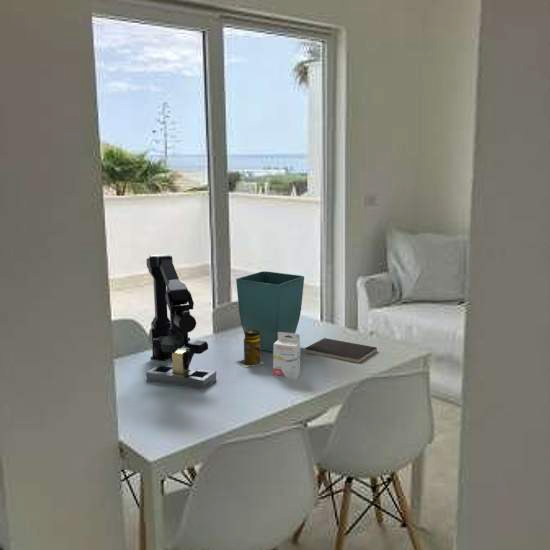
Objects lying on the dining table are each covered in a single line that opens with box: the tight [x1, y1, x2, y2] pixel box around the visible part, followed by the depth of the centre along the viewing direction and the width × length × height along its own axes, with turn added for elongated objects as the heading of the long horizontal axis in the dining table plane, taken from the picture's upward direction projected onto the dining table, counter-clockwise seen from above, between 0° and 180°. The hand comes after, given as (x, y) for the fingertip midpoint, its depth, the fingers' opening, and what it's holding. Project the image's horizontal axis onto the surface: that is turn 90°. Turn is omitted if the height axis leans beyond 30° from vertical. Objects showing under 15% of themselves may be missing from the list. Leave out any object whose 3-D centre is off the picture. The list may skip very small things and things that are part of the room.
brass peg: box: [171, 349, 190, 375], centre depth 200 cm, size 4×4×9 cm
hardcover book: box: [304, 337, 378, 363], centre depth 229 cm, size 16×23×2 cm
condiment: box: [235, 330, 265, 368], centre depth 216 cm, size 7×8×12 cm
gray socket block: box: [145, 363, 217, 390], centre depth 201 cm, size 22×9×3 cm, turn 68°
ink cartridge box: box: [272, 332, 301, 379], centre depth 204 cm, size 9×5×15 cm, turn 71°
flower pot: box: [235, 270, 305, 353], centre depth 234 cm, size 20×20×28 cm
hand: (180, 368), depth 200 cm, fingers closed on brass peg, 4 cm apart
